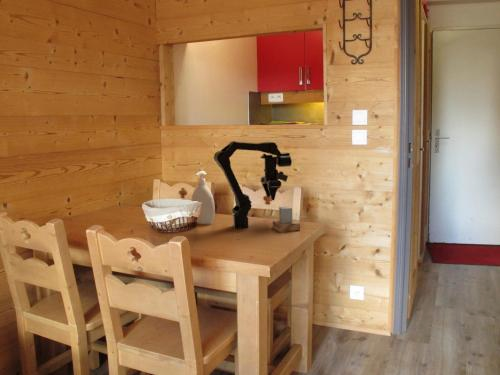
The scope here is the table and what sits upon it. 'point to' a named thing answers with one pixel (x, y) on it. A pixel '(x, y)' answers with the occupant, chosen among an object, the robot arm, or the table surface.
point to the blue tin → (285, 214)
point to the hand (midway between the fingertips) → (270, 198)
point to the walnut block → (286, 226)
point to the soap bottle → (204, 200)
